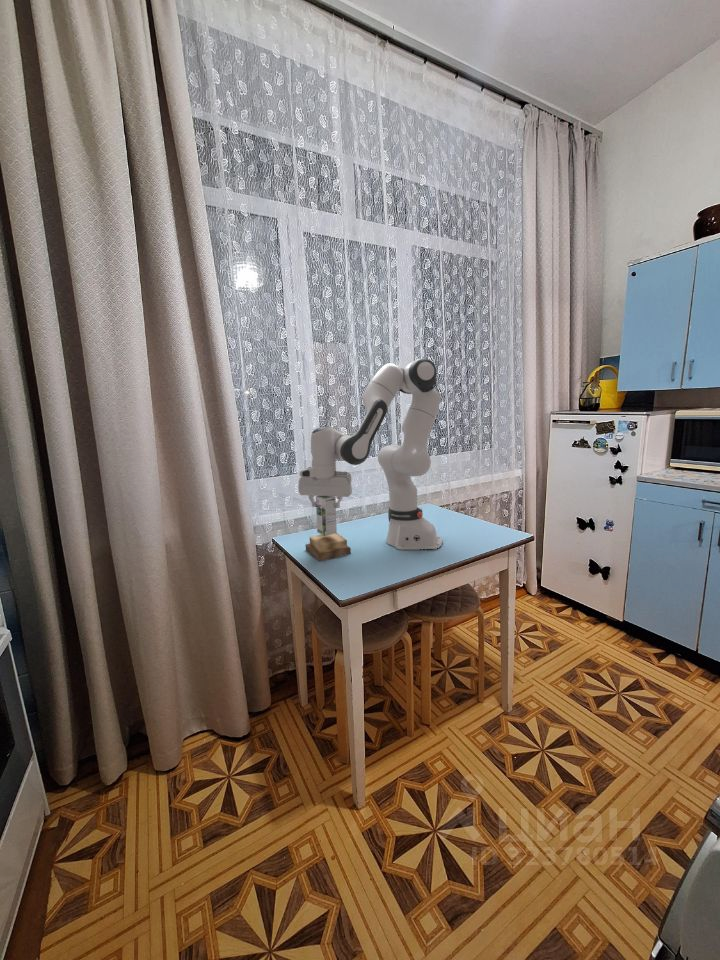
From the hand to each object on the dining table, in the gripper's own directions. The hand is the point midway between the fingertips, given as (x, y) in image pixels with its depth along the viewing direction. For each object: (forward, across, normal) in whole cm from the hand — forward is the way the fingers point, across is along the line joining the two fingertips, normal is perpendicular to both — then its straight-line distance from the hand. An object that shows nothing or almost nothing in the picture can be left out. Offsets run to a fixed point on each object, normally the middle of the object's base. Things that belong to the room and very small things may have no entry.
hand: (325, 507), depth 148 cm
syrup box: (+10, 0, 0) cm, 10 cm away
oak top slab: (+15, 0, 0) cm, 16 cm away
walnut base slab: (+18, 0, 0) cm, 19 cm away
